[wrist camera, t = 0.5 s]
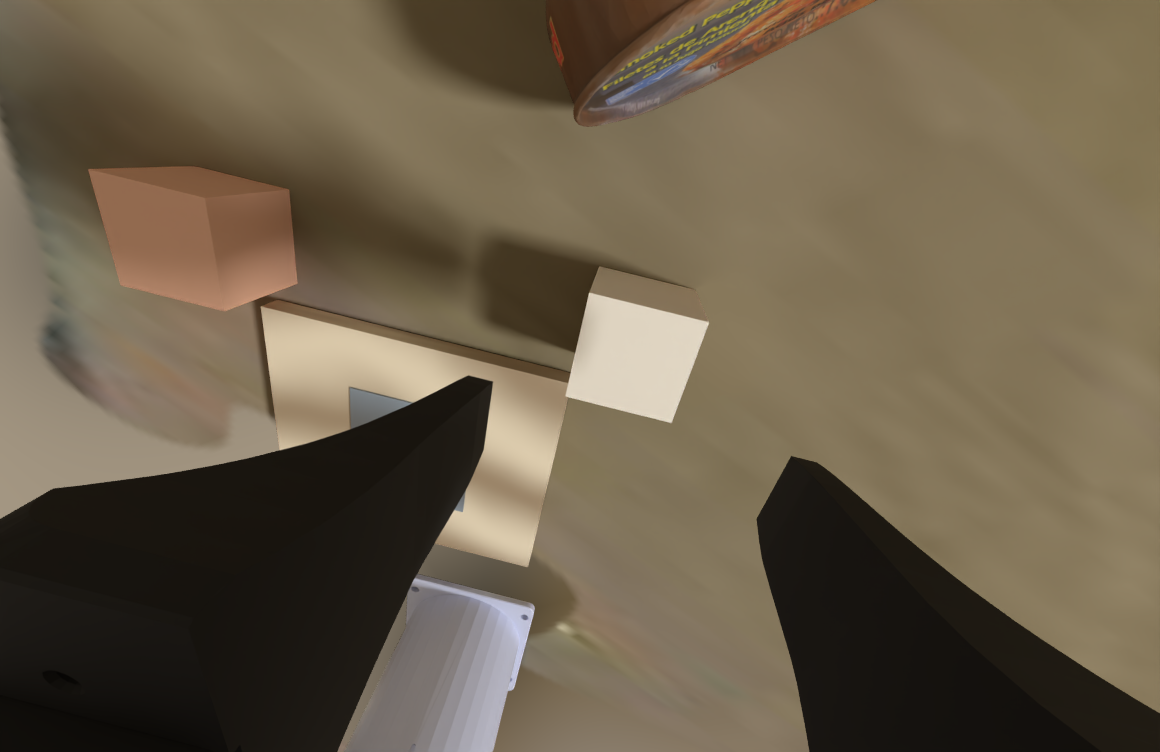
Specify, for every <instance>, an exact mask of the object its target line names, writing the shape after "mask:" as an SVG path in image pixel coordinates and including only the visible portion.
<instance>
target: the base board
mask: <svg viewBox="0 0 1160 752" xmlns="http://www.w3.org/2000/svg"><path fill="white" fill-rule="evenodd" d="M261 312H262V320H263V327H264V335H265V343H266V351H267V358H268V366H269V374H270V381H271V389H272V397H273V404H274V412H275V420H276V428H277V435H278V443H279V450H283V449H287V448H291V447H295V446H298V445H302V444H306V443H310V442H313V441H316V440H319V439H322V438H325V437H329V436H332V435H335V434H338V433H341V432H344V431H347V430H349V429H352V428H355V427H358V426H360V425H363V424H365V423H368V422H370V421H373V420H375V419H377V418H380V417H382V416H384V415H387V414H389V413H391V412H394V411H396V410H398V409H401V408H403V407H405V406H407V405H410V404H412V403H414V402H416V401H418V400H420V399H422V398H424V397H426V396H428V395H430V394H432V393H434V392H436V391H438V390H440V389H442V388H444V387H446V386H448V385H450V384H452V383H453V382H455V381H457V380H459V379H461V378H464V377H466V376H468V375H469V376H473V377H477V378H481V379H485V380H489V381H493V388H492V395H491V402H490V409H489V416H488V423H487V430H486V438H485V445H484V451H483V453H482V455H481V458H480V460H479V463H478V465H477V467H476V470H475V472H474V474H473V477H472V479H471V481H470V483H469V486H468V487H467V489H466V491H465V493H464V494H463V496H462V498H461V499H460V501H459V503H458V505H457V506H456V508H455V510H454V511H453V513H452V515H451V516H450V518H449V520H448V522H447V523H446V525H445V527H444V528H443V530H442V532H441V533H440V535H439V537H438V538H437V540H436V542H435V544H439V545H443V546H446V547H450V548H454V549H458V550H462V551H466V552H470V553H474V554H478V555H482V556H486V557H490V558H494V559H498V560H502V561H505V562H509V563H514V564H517V565H522V566H525V567H528V564H529V560H530V557H531V553H532V549H533V545H534V540H535V536H536V532H537V528H538V523H539V519H540V515H541V511H542V507H543V502H544V498H545V494H546V490H547V485H548V481H549V477H550V473H551V468H552V464H553V460H554V456H555V452H556V447H557V443H558V439H559V435H560V430H561V426H562V422H563V418H564V413H565V409H566V405H567V401H568V397H566V396H565V395H566V391H567V387H568V383H569V378H570V374H571V373H569V372H565V371H561V370H557V369H553V368H549V367H545V366H541V365H537V364H533V363H529V362H525V361H521V360H517V359H513V358H509V357H505V356H501V355H497V354H493V353H489V352H485V351H481V350H477V349H473V348H469V347H465V346H461V345H457V344H453V343H449V342H445V341H441V340H437V339H433V338H429V337H425V336H421V335H417V334H413V333H409V332H405V331H401V330H397V329H393V328H389V327H385V326H381V325H377V324H373V323H369V322H365V321H361V320H357V319H353V318H349V317H345V316H341V315H337V314H333V313H329V312H325V311H321V310H317V309H313V308H309V307H305V306H301V305H297V304H293V303H289V302H285V301H281V300H275V301H273V302H270V303H268V304H265V305H263V306H261Z"/></svg>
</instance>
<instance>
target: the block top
mask: <svg viewBox="0 0 1160 752" xmlns="http://www.w3.org/2000/svg"><path fill="white" fill-rule="evenodd" d="M88 171H89V174H90V178H91V181H92V185H93V189H94V192H95V196H96V199H97V203H98V206H99V210H100V213H101V217H102V220H103V224H104V227H105V231H106V235H107V238H108V242H109V245H110V249H111V252H112V256H113V259H114V263H115V266H116V270H117V273H118V277H119V280H120V284H121V285H122V286H126V287H130V288H134V289H138V290H142V291H146V292H150V293H154V294H158V295H162V296H166V297H170V298H174V299H177V300H181V301H185V302H189V303H193V304H197V305H201V306H205V307H209V308H213V309H217V310H221V311H227V310H229V309H232V308H235V307H237V306H240V305H243V304H245V303H248V302H250V301H253V300H256V299H258V298H261V297H264V296H266V295H269V294H272V293H274V292H277V291H280V290H282V289H285V288H287V287H290V286H293V285H295V284H297V273H296V262H295V250H294V239H293V227H292V216H291V204H290V193H289V189H285V188H281V187H277V186H273V185H269V184H265V183H261V182H257V181H253V180H249V179H245V178H241V177H237V176H233V175H229V174H225V173H221V172H217V171H213V170H208V169H204V168H200V167H196V166H180V167H143V168H107V169H88Z"/></svg>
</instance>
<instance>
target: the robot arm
mask: <svg viewBox="0 0 1160 752" xmlns="http://www.w3.org/2000/svg"><path fill="white" fill-rule="evenodd" d="M492 388H493V381H489V380H485V379H481V378H477V377H473V376H469V375H468V376H466V377H464V378H461V379H459V380H457V381H455V382H453V383H452V384H450V385H448V386H446V387H444V388H442V389H440V390H438V391H436V392H434V393H432V394H430V395H428V396H426V397H424V398H422V399H420V400H418V401H416V402H414V403H412V404H410V405H407V406H405V407H403V408H401V409H398V410H396V411H394V412H391V413H389V414H387V415H384V416H382V417H380V418H377V419H375V420H373V421H370V422H368V423H365V424H363V425H360V426H358V427H355V428H352V429H349V430H347V431H344V432H341V433H338V434H335V435H332V436H329V437H325V438H322V439H319V440H316V441H313V442H310V443H306V444H302V445H298V446H295V447H291V448H287V449H283V450H279V451H275V452H271V453H268V454H264V455H260V456H256V457H252V458H248V459H243V460H238V461H234V462H229V463H224V464H219V465H214V466H209V467H203V468H197V469H192V470H186V471H182V472H175V473H169V474H163V475H157V476H149V477H142V478H135V479H127V480H120V481H112V482H104V483H96V484H89V485H82V486H73V487H64V488H55V489H52V490H50V491H48V492H46V493H45V494H43V495H41V496H40V497H38V498H36V499H35V500H33V501H31V502H29V503H27V504H26V505H24V506H22V507H20V508H19V509H17V510H15V511H13V512H12V513H10V514H8V515H6V516H5V517H3V518H1V519H0V752H337V751H338V748H339V746H340V744H341V741H342V739H343V736H344V734H345V732H346V729H347V727H348V725H349V722H350V720H351V718H352V715H353V713H354V711H355V709H356V706H357V704H358V702H359V699H360V697H361V695H362V692H363V690H364V688H365V686H366V683H367V681H368V679H369V676H370V674H371V672H372V670H373V667H374V665H375V662H376V661H377V659H378V656H379V654H380V651H381V649H382V647H383V645H384V643H385V641H386V639H387V636H388V634H389V632H390V629H391V627H392V625H393V623H394V621H395V619H396V616H397V614H398V612H399V610H400V608H401V606H402V604H403V602H404V600H405V597H406V595H407V614H406V628H405V630H404V632H403V634H402V636H401V638H400V640H399V642H398V644H397V646H396V648H395V650H394V652H393V654H392V656H391V658H390V660H389V662H388V664H387V666H386V668H385V670H384V672H383V674H382V676H381V678H380V680H379V682H378V684H377V686H376V688H375V690H374V692H373V694H372V696H371V698H370V700H369V702H368V704H367V706H366V709H365V710H364V712H363V714H362V716H361V719H360V720H359V723H358V725H357V727H356V729H355V731H354V733H353V735H352V737H351V739H350V741H349V743H348V745H347V747H346V749H345V751H344V752H493V748H494V744H495V740H496V736H497V732H498V728H499V724H500V720H501V716H502V712H503V708H504V703H505V700H506V696H507V692H508V691H511V690H513V689H514V686H515V682H516V678H517V675H518V671H519V667H520V663H521V660H522V656H523V652H524V648H525V644H526V641H527V637H528V633H529V629H530V626H531V621H532V618H533V614H534V610H535V607H534V606H533V604H531V603H529V602H526V601H522V600H518V599H514V598H511V597H507V596H503V595H499V594H495V593H491V592H487V591H483V590H479V589H475V588H471V587H468V586H463V585H460V584H456V583H452V582H448V581H444V580H440V579H436V578H432V577H428V576H424V575H420V574H417V573H418V571H419V569H420V568H421V566H422V563H423V562H424V560H425V558H426V557H427V555H428V554H429V552H430V550H431V549H432V547H433V545H434V543H435V542H436V540H437V538H438V537H439V535H440V533H441V532H442V530H443V528H444V527H445V525H446V523H447V522H448V520H449V518H450V516H451V515H452V513H453V511H454V510H455V508H456V506H457V505H458V503H459V501H460V499H461V498H462V496H463V494H464V493H465V491H466V489H467V487H468V486H469V483H470V481H471V479H472V477H473V474H474V472H475V470H476V467H477V465H478V463H479V460H480V458H481V455H482V453H483V451H484V445H485V438H486V430H487V423H488V416H489V409H490V402H491V395H492ZM757 526H758V535H759V542H760V549H761V555H762V560H763V564H764V568H765V571H766V575H767V578H768V582H769V586H770V589H771V593H772V596H773V599H774V603H775V606H776V610H777V613H778V616H779V620H780V623H781V626H782V630H783V633H784V637H785V640H786V643H787V647H788V650H789V654H790V657H791V661H792V665H793V669H794V673H795V677H796V681H797V686H798V691H799V696H800V702H801V707H802V712H803V717H804V723H805V728H806V733H807V739H808V746H809V752H1160V713H1158V712H1156V711H1155V710H1153V709H1151V708H1150V707H1148V706H1146V705H1144V704H1143V703H1141V702H1139V701H1138V700H1136V699H1134V698H1133V697H1131V696H1129V695H1128V694H1126V693H1125V692H1123V691H1121V690H1120V689H1118V688H1116V687H1115V686H1113V685H1112V684H1110V683H1108V682H1107V681H1105V680H1103V679H1102V678H1100V677H1099V676H1097V675H1095V674H1094V673H1092V672H1091V671H1089V670H1088V669H1086V668H1085V667H1083V666H1081V665H1080V664H1078V663H1077V662H1075V661H1074V660H1072V659H1071V658H1069V657H1068V656H1066V655H1065V654H1063V653H1062V652H1060V651H1058V650H1057V649H1055V648H1054V647H1052V646H1051V645H1049V644H1048V643H1046V642H1045V641H1043V640H1042V639H1040V638H1039V637H1037V636H1036V635H1034V634H1033V633H1031V632H1030V631H1028V630H1027V629H1025V628H1024V627H1023V626H1021V625H1020V624H1018V623H1017V622H1015V621H1014V620H1012V619H1011V618H1010V617H1008V616H1007V615H1006V614H1004V613H1003V612H1001V611H1000V610H999V609H997V608H996V607H995V606H993V605H992V604H990V603H989V602H988V601H986V600H985V599H984V598H982V597H981V596H979V595H978V594H977V593H975V592H974V591H972V590H971V589H970V588H969V587H967V586H966V585H965V584H963V583H962V582H961V581H959V580H958V579H957V578H955V577H954V576H953V575H952V574H950V573H949V572H948V571H947V570H945V569H944V568H943V567H942V566H940V565H939V564H938V563H937V562H935V561H934V560H933V559H932V558H931V557H929V556H928V555H927V554H926V553H924V552H923V551H922V550H921V549H919V548H918V547H917V546H916V545H915V544H913V543H912V542H911V541H910V540H909V539H907V538H906V537H905V536H904V535H903V534H902V533H900V532H899V531H898V530H897V529H896V528H895V527H893V526H892V525H891V524H890V523H889V522H888V521H886V520H885V519H884V518H883V517H882V516H881V515H880V514H878V513H877V512H876V511H875V510H874V509H873V508H872V507H870V506H869V505H868V504H867V503H866V502H865V501H864V500H862V499H861V498H860V497H859V496H858V495H857V494H856V493H854V492H853V491H852V490H851V489H850V488H849V487H847V486H846V485H845V484H844V483H843V482H842V481H840V480H839V479H838V478H837V477H836V476H834V475H833V474H832V473H831V472H829V471H828V470H827V469H825V468H824V467H823V466H821V465H820V464H818V463H817V462H813V461H809V460H805V459H801V458H797V457H793V456H791V458H790V459H789V461H788V463H787V465H786V467H785V469H784V470H783V472H782V474H781V476H780V478H779V479H778V481H777V483H776V485H775V487H774V488H773V490H772V492H771V494H770V496H769V497H768V499H767V501H766V503H765V505H764V506H763V508H762V510H761V512H760V514H759V516H758V517H757Z"/></svg>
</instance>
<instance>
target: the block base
mask: <svg viewBox="0 0 1160 752" xmlns="http://www.w3.org/2000/svg"><path fill="white" fill-rule="evenodd" d="M708 324H709V321H708V318H707V316H706V314H705V311H704V309H703V306H702V304H701V302H700V299H699V297H698V294H697V292H696V290H694V289H690V288H686V287H682V286H678V285H674V284H670V283H666V282H662V281H658V280H654V279H649V278H645V277H641V276H637V275H633V274H629V273H625V272H621V271H617V270H613V269H609V268H605V267H601V266H599V268H598V271H597V274H596V276H595V279H594V281H593V284H592V287H591V289H590V292H589V296H588V300H587V305H586V309H585V313H584V318H583V322H582V326H581V331H580V335H579V339H578V344H577V348H576V352H575V357H574V361H573V365H572V370H571V374H570V378H569V383H568V387H567V391H566V395H565V396H566V397H570V398H574V399H578V400H582V401H586V402H590V403H594V404H598V405H602V406H606V407H610V408H614V409H618V410H622V411H626V412H630V413H634V414H638V415H642V416H646V417H649V418H653V419H657V420H661V421H665V422H669V423H672V420H673V418H674V415H675V412H676V409H677V407H678V404H679V401H680V399H681V396H682V393H683V391H684V388H685V385H686V383H687V380H688V377H689V375H690V372H691V369H692V367H693V364H694V361H695V359H696V356H697V353H698V351H699V348H700V345H701V343H702V340H703V337H704V335H705V332H706V329H707V327H708Z"/></svg>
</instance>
